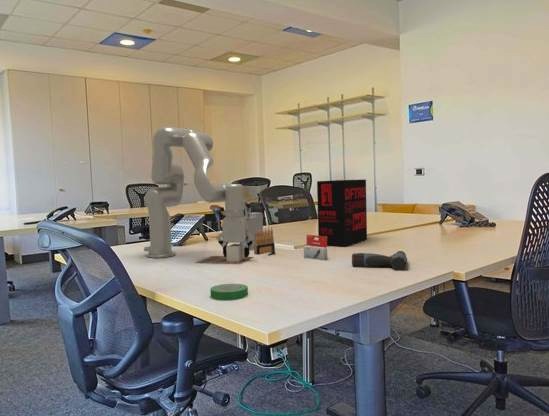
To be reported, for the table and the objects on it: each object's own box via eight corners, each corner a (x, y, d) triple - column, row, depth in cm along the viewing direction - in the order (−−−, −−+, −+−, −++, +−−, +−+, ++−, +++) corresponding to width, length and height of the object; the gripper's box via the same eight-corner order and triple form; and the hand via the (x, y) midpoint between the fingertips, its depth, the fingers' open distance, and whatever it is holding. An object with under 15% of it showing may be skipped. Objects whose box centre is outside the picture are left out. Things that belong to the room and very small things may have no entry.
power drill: (357, 260, 185) (408, 262, 179) (350, 269, 168) (406, 271, 162) (357, 247, 185) (408, 248, 179) (350, 255, 167) (406, 257, 161)
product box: (342, 238, 248) (341, 180, 246) (367, 240, 240) (365, 179, 238) (318, 245, 226) (317, 181, 224) (344, 247, 218) (343, 180, 216)
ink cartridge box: (324, 260, 186) (323, 237, 185) (303, 258, 193) (302, 235, 193) (328, 259, 188) (327, 236, 187) (307, 257, 195) (306, 234, 195)
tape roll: (219, 290, 142) (219, 282, 142) (253, 292, 139) (252, 283, 139) (204, 300, 132) (204, 291, 131) (240, 302, 128) (239, 292, 128)
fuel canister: (244, 251, 215) (242, 198, 213) (236, 250, 218) (234, 198, 216) (264, 246, 227) (262, 197, 225) (256, 246, 230) (254, 197, 228)
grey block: (226, 261, 183) (226, 246, 182) (234, 258, 191) (233, 243, 190) (238, 261, 181) (237, 246, 181) (245, 258, 189) (244, 243, 189)
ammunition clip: (257, 257, 198) (256, 230, 197) (254, 256, 200) (253, 229, 199) (275, 254, 205) (274, 227, 204) (272, 253, 207) (271, 227, 206)
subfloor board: (194, 265, 183) (194, 262, 183) (211, 258, 198) (211, 255, 198) (240, 267, 177) (240, 263, 177) (254, 259, 192) (254, 256, 192)
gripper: (211, 215, 184) (213, 257, 185) (251, 215, 179) (253, 258, 180) (218, 213, 191) (220, 254, 192) (257, 213, 186) (259, 255, 187)
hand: (236, 256), depth 186 cm, fingers open, 8 cm apart
